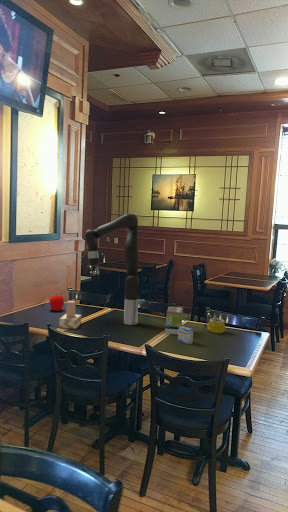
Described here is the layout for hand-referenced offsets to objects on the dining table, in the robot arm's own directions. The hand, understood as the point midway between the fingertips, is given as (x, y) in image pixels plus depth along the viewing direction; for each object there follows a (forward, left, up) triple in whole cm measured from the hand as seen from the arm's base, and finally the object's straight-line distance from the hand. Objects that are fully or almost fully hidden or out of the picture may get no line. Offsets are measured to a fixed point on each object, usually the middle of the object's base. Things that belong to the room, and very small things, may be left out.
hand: (95, 280), depth 259 cm
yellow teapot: (-84, +14, -28) cm, 90 cm away
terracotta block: (+11, +22, -21) cm, 32 cm away
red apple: (+33, -15, -28) cm, 46 cm away
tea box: (-57, +19, -28) cm, 66 cm away
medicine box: (-64, +40, -28) cm, 80 cm away
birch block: (+11, +22, -27) cm, 37 cm away
